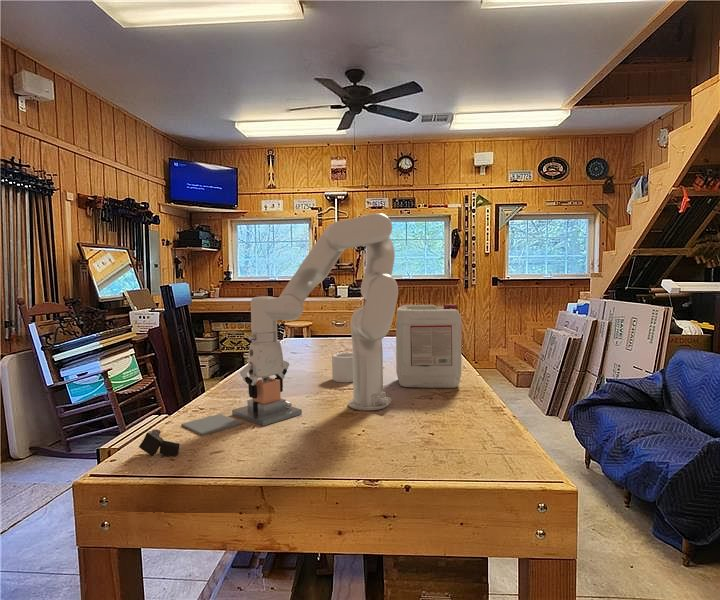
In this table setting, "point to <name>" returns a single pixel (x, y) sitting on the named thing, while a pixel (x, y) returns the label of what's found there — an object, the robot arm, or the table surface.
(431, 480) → the table surface
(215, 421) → the mat
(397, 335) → the jerry can
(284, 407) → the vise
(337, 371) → the mug
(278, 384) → the collar
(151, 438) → the lighter
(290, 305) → the robot arm
